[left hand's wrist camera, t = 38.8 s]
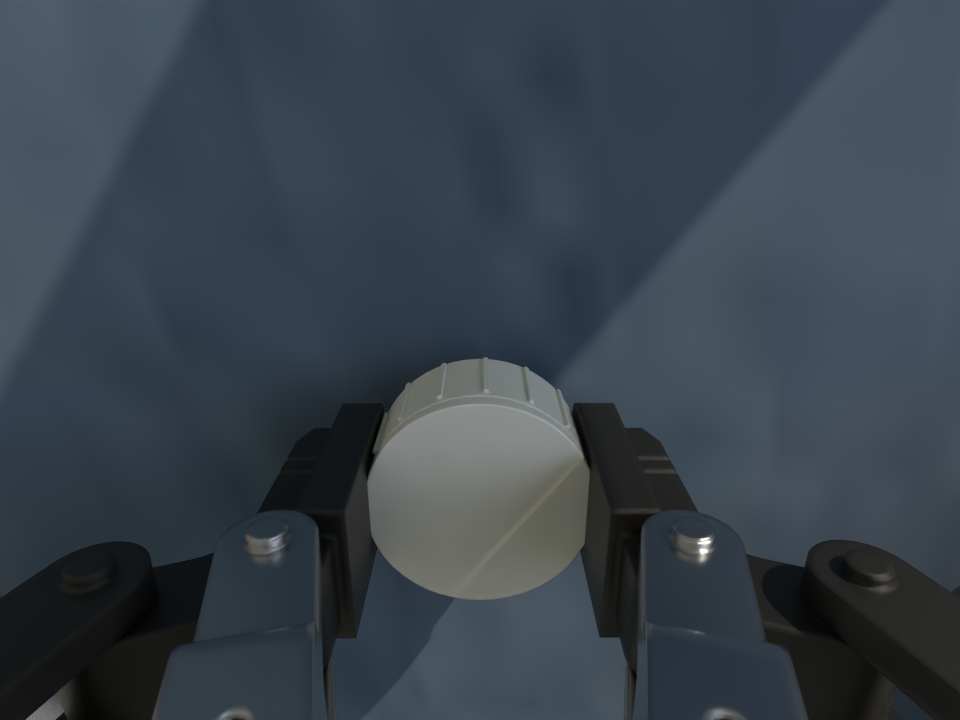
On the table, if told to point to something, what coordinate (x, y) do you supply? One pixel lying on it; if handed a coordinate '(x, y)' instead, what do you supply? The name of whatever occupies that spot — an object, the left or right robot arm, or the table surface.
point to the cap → (479, 481)
